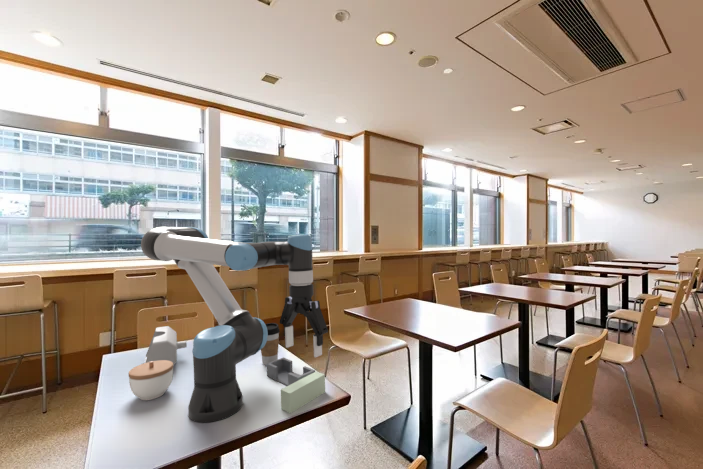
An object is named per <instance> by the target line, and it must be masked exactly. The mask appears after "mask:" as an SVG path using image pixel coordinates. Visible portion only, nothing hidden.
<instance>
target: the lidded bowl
mask: <svg viewBox="0 0 703 469" xmlns="http://www.w3.org/2000/svg"><path fill="white" fill-rule="evenodd" d="M173 377H174V365H173V362H171V361H168V360H158V361H150V362H147V363H144V362H143V363H141V364H139V365H136V366H134V367H133V368H131V369H130V370H129V371H128V380H129V381H128V383H129V388H130V392H132V394H133V395H134V396H135V397H137V398H139V400H141V401H150V400H151V401H152V400H155V399H157V398H160V397H162V396H163V395H165V393H166V392H167V390H168V389H169V387H170V386H171V383H172V381H173Z"/></svg>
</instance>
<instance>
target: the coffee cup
mask: <svg viewBox="0 0 703 469" xmlns="http://www.w3.org/2000/svg"><path fill="white" fill-rule="evenodd" d="M265 325H266V327H267V331H268V336H267V342H266V344H265V346H264V347H263V348H262V349H261V350H260V353H261V361H262V362H261V363H262V365H263V366H267V363H270V362H273V361H275V360H278V359H279V358H278V357H279V355H278V354H279V344H280V336H279V334H280V332H281V331H280V327H279V324H278V323H276V322H269V323H265Z"/></svg>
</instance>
